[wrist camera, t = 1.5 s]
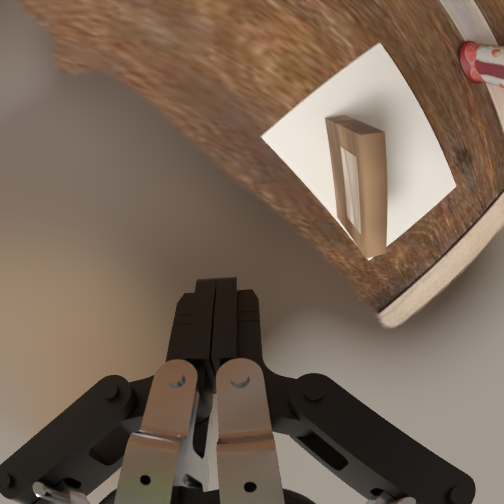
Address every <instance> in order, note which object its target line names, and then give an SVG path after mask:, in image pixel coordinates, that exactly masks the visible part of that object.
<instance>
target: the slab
mask: <svg viewBox="0 0 504 504" xmlns="http://www.w3.org/2000/svg"><path fill="white" fill-rule="evenodd" d="M325 123H326V129H327V136H328V142H329V149H330V157H331V164H332V172H333V181H334V190H335V200H336V210H337V218H338V219H339V220H340V222H341V223H342V225H343V226H344V227H345V229H346V230H347V232H348V233H349V235H350V236H351V237H352V239H353V240H354V242H355V243H356V245H357V246H358V248H359V249H360V251H361V252H362V253H363V255H364V256H365V258H366V259H367V258H371V257H374V256H378V255H381V254H385V253H386V243H387V205H388V197H387V159H386V142H385V132H384V131H382V130H379V129H377V128H375V127H373V126H370V125H368V124H366V123H363V122H361V121H358V120H356V119H353V118H351V117H348V116H346V115H340V116H334V117H327V118H325Z"/></svg>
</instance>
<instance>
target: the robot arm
mask: <svg viewBox="0 0 504 504" xmlns="http://www.w3.org/2000/svg"><path fill="white" fill-rule="evenodd" d="M213 394H217V412H218V429H219V439H218V441H217V449H216V450H217V467H218V481H219V489H218V490H213V491H208V482H209V466H208V450H209V443H210V434H211V427H212V419H213V408H212V404H213ZM272 431H273V432H277V433H282V434H287V435H289V436H290V437H291V438H292V439H293V440H294V441H296V442H297V443H298V444H299V445H300V446H301V447H302V448H304V449H305V450H306V451H307V452H308V453H309V454H311V455H312V456H313V457H314V458H315V459H317V460H318V461H319V462H320V463H321V464H322V465H324V466H325V467H326V468H328V469H329V470H330V471H331V472H332V473H334V474H335V475H336V476H337V477H339V478H340V479H341V480H342V481H344V482H345V483H346V484H348V485H349V486H350V487H352V488H353V489H355V490H356V491H357V492H358V493H360V494H361V495H363V496H364V497H365V498H367V499H368V501H367V502H366V504H471V503H472V501H473V499H474V496H475V483H474V481H473V479H472V478H471V477H470V476H469V475H467V474H466V473H464V472H463V471H461V470H459V469H458V468H456V467H455V466H453V465H451V464H450V463H448V462H447V461H445V460H444V459H442V458H440V457H439V456H438V455H436V454H434V453H433V452H432V451H430V450H428V449H427V448H426V447H424V446H422V445H421V444H420V443H418V442H417V441H415V440H413V439H412V438H411V437H409V436H408V435H406V434H405V433H403V432H402V431H401V430H399V429H398V428H396V427H395V426H394V425H392V424H391V423H389V422H388V421H386V420H385V419H384V418H382V417H381V416H380V415H378V414H377V413H376V412H374V411H373V410H371V409H370V408H369V407H367V406H366V405H364V404H363V403H362V402H361V401H359V400H358V399H357V398H355V397H354V396H352V395H351V394H350V393H349V392H347V391H346V390H345V389H343V388H342V387H341V386H339V385H338V384H337V383H335V382H334V381H333V380H331V379H330V378H329V377H327V376H325V375H322V374H318V373H310V374H306V375H303V376H301V377H299V378H298V379H294V378H289V377H284V376H280V375H277V374H275V373H273V372H272V371H270V370H269V369H268V368H267V367H266V366H265V363H264V362H263V358H262V345H261V329H260V314H259V301H258V298H257V296H256V295H255V293H254V292H253V290H252V289H250V290H239V284H238V277H237V276H236V277H220V278H218V279H217V278H205V279H198V280H197V282H196V288H195V293H185V294H184V295H183V296H182V298H181V299H180V300H179V302H178V303H177V307H176V312H175V317H174V321H173V326H172V331H171V337H170V342H169V347H168V352H167V358H166V361H165V363H164V364H162V365H161V366H160V367H159V368H158V369H157V371H156V373H155V375H153V376H151V377H148V378H145V379H141V380H137V381H133V382H128V381H127V380H126V379H125V378H123V377H122V376H118V375H110V376H106V377H104V378H103V379H101V380H100V381H99V382H97V383H96V384H95V385H94V386H93V387H92V388H90V389H89V390H88V391H87V392H86V393H84V395H82V396H81V397H80V398H79V399H77V400H76V401H75V402H74V403H73V404H72V405H70V406H69V407H68V408H67V409H66V410H64V412H62V413H61V414H60V415H59V416H57V417H56V418H55V419H54V420H53V421H51V422H50V423H49V424H48V425H47V426H46V427H44V428H43V429H42V430H41V431H40V432H39V433H37V434H36V435H35V436H34V437H33V438H31V439H30V440H29V441H28V442H27V443H26V444H24V445H23V446H22V447H21V448H20V449H18V450H17V451H16V452H15V453H14V454H13V455H12V456H10V457H9V458H8V459H7V460H6V461H4V462H3V463H2V464H1V465H0V493H1V494H2V495H3V496H4V497H6V498H8V499H10V500H13V501H16V502H18V503H20V504H90V503H89V501H88V500H87V498H86V496H87V495H88V494H90V493H91V492H92V491H93V490H94V489H96V488H97V487H98V486H99V485H100V484H102V483H103V482H104V481H105V480H106V479H108V478H109V477H110V476H111V475H112V474H113V473H114V472H116V471H117V470H118V469H119V468H120V467H121V466H122V468H121V472H120V477H119V481H118V486H117V489H115V490H114V491H112V492H111V493H110V494H109V495H108V496H107V497H105V498H104V499H103V500H102V501H101V502H100V503H99V504H315V503H314V502H313V501H311V500H310V499H309V498H307V497H305V496H303V495H301V494H299V493H296V492H294V491H291V490H287V489H283V488H282V483H281V477H280V472H279V465H278V459H277V453H276V447H275V441H274V437H273V434H272ZM207 491H208V492H207Z"/></svg>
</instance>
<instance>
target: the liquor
mask: <svg viewBox="0 0 504 504" xmlns="http://www.w3.org/2000/svg"><path fill="white" fill-rule="evenodd" d="M460 62H461V66H462V68H463V71H464V73H465V74H466V76H467V77H468V78H469V79H470V80H471V81H472V82H474V83H480V82H485V83H489V84H492V85H496V86H499V87H502V88H504V46H493V45H481V44H476V43H475V42H473V41H467V42H465V43H464V44H463V45H462V47H461V51H460Z"/></svg>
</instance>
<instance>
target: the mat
mask: <svg viewBox="0 0 504 504" xmlns="http://www.w3.org/2000/svg"><path fill="white" fill-rule="evenodd" d="M340 115H346V116H348V117H351V118H353V119H356V120H358V121H361V122H363V123H366V124H368V125H370V126H373V127H375V128H377V129H379V130H382V131H384V132H385V142H386V159H387V197H388V205H387V243H386V247H387V246H388V245H389V244H390V243H392V242H393V241H394V240H395V239H397V238H398V237H399V236H400V235H401V234H403V233H404V232H405V231H406V230H407V229H409V228H410V227H411V226H412V225H413V224H415V223H416V222H417V221H418V220H419V219H420V218H422V217H423V216H424V215H425V214H426V213H427V212H428V211H430V210H431V209H432V208H433V207H434V206H435V205H436V204H437V203H439V202H440V201H441V200H442V199H443V198H444V197H445V196H446V195H447V194H449V193H450V192H451V191H452V190H453V189H454V188H455V187H456V184H455V181H454V178H453V176H452V173H451V171H450V168H449V166H448V163H447V161H446V159H445V156H444V154H443V152H442V149H441V147H440V145H439V143H438V140H437V138H436V136H435V134H434V132H433V130H432V128H431V126H430V124H429V122H428V120H427V118H426V116H425V114H424V112H423V110H422V108H421V107H420V105H419V103H418V101H417V99H416V98H415V96H414V94H413V92H412V91H411V89H410V87H409V86H408V84H407V82H406V81H405V79H404V77H403V76H402V74H401V73H400V71H399V69H398V68H397V66H396V65H395V63H394V62H393V60H392V59H391V57H390V56H389V54H388V53H387V52H386V50H385V49H384V47H383V46H382V45H381V43H377V44H376V45H374V46H373V47H371V48H370V49H369V50H367V51H366V52H364V53H363V54H362V55H360V56H359V57H357V58H356V59H355V60H353V61H352V62H351V63H349V64H348V65H347V66H345V67H344V68H343V69H341V70H340V71H339V72H337V73H336V74H335V75H333V76H332V77H331V78H330V79H328V80H327V81H326V82H324V83H323V84H322V85H321V86H319V87H318V88H317V89H316V90H314V91H313V92H312V93H311V94H309V95H308V96H307V97H306V98H304V99H303V100H302V101H301V102H300V103H298V104H297V105H296V106H295V107H294V108H292V109H291V110H290V111H289V112H288V113H286V114H285V115H284V116H283V117H282V118H281V119H279V120H278V121H277V122H276V123H275V124H274V125H273V126H271V127H270V128H269V129H268V130H267V131H266V132H265V133H263V134H262V135H261V136H260V137H261V138H262V139H263V140H264V141H265V142H266V143H267V144H268V145H269V146H270V147H271V148H272V149H273V150H274V151H275V152H276V153H277V154H278V155H279V156H280V157H281V159H282V160H283V161H284V162H285V163H286V164H287V165H288V166H289V167H290V168H291V169H292V170H293V171H294V173H295V174H296V175H297V176H298V177H299V178H300V179H301V180H302V181H303V182H304V184H305V185H306V186H307V187H308V188H309V189H310V190H311V191H312V193H313V194H314V195H315V196H316V197H317V198H318V199H319V201H320V202H321V203H322V204H323V205H324V206H325V207H326V209H327V210H328V211H329V212H330V213H331V215H332V216H333V217H334V218H335V219H336V220H337V222H338V223H339V224H340V225H341V226H342V228H343V229H344V230H345V231H346V233H347V234H348V235H349V233H348V232H347V230H346V229H345V227H344V226H343V225H342V223H341V222H340V220H339V219H338V218H337V210H336V200H335V190H334V181H333V172H332V164H331V157H330V149H329V142H328V136H327V129H326V123H325V118H327V117H334V116H340ZM349 236H350V235H349ZM350 237H351V236H350ZM351 239H352V237H351ZM352 240H353V239H352ZM353 241H354V240H353ZM355 244H356V243H355ZM372 258H373V257H371V258H367V259H368V260H370V259H372Z"/></svg>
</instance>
